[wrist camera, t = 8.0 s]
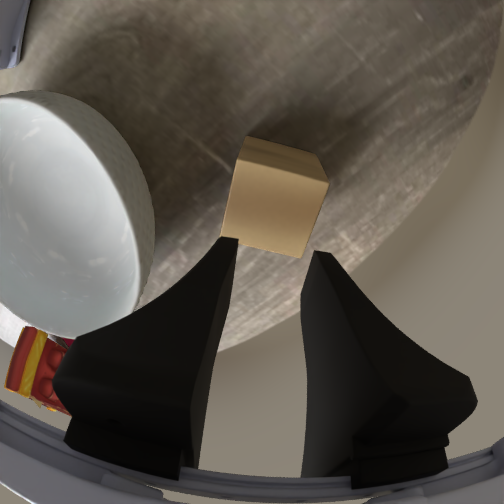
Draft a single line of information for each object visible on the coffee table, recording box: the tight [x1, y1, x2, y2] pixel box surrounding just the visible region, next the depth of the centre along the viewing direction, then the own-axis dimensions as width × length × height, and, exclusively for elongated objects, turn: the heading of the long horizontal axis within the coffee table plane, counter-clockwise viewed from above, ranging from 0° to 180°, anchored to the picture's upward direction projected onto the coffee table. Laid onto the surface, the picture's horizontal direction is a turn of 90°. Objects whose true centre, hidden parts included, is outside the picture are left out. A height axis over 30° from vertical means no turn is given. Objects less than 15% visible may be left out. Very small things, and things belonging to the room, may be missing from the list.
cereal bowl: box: [0, 90, 155, 339], centre depth 17 cm, size 17×17×7 cm
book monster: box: [4, 326, 75, 417], centre depth 27 cm, size 11×9×12 cm
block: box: [219, 136, 330, 258], centre depth 17 cm, size 4×4×5 cm
